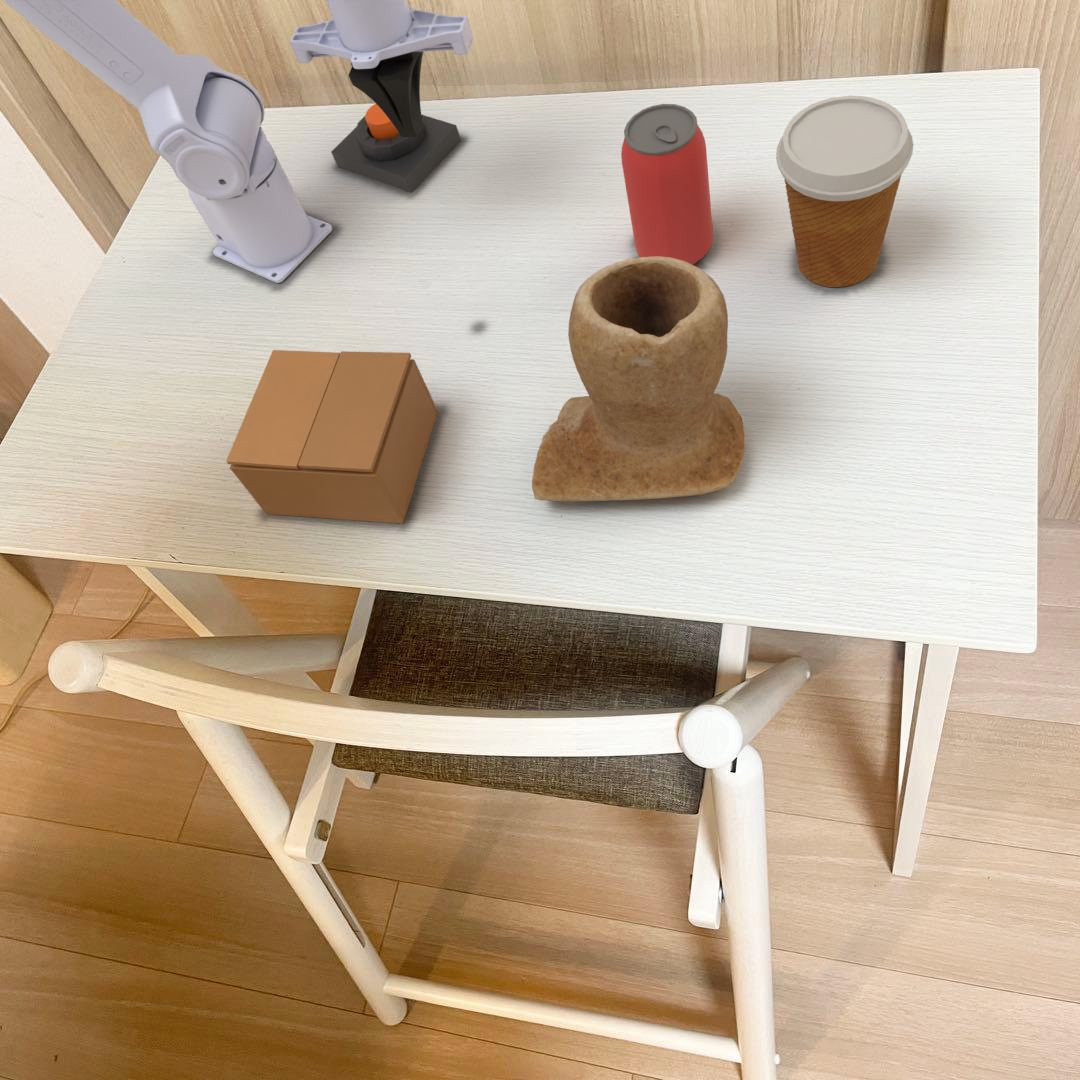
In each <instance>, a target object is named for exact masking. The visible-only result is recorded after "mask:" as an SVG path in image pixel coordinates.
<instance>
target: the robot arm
mask: <svg viewBox="0 0 1080 1080" xmlns="http://www.w3.org/2000/svg"><path fill="white" fill-rule="evenodd" d="M1 1H2V2H3V3H5V5H7V6H8V7H10V9H12V10H13V11H15V12H16V13H17V14H18V15H20V16H21V17H22V18H23V19H25V21H27V22H28V23H30V24H31V25H32V26H33V27H34V28H36V29H37V30H39V31H40V32H41V33H42V34H43V35H44V36H46V37H47V38H48V39H50V40H51V41H52V42H53V43H54V44H56V45H57V46H59V47H60V48H61V49H63V50H64V51H65V52H66V53H67V54H69V56H70V57H72V58H73V59H75V60H76V61H77V62H78V63H80V64H81V65H82V66H84V67H85V68H86V69H87V70H89V71H90V72H91V73H92V74H94V75H95V76H96V77H97V78H99V80H101V81H102V82H103V83H105V84H106V85H107V86H108V87H109V88H111V89H112V90H113V91H115V92H116V93H117V94H118V95H119V96H121V97H122V98H123V99H125V100H126V101H127V102H128V103H129V104H131V105H132V106H134V107H135V108H136V109H137V110H138V112H139V115H140V118H141V120H142V124H143V126H144V127H143V128H144V129H145V133H146V136H147V139H148V143H149V145H150V147H151V149H152V151H154V152H155V154H158V155H159V156H160V157H161V158H162V159H164V160H165V162H166V163H168V165H169V166H170V167H171V169H172V171H173V172H174V174H175V176H176V178H177V179H178V181H180V183H182V184H183V185H184V187H186V188H187V190H188V196H189V198H190V200H191V203H192V204H193V206H194V207H195V208H196V211H197V212H198V214H199V215H200V217H201V219H202V220H203V221H204V222H203V223H204V224H205V225H206V227H207V228H208V230H209V231H210V233H211V235H212V236H213V238H214V240H215V242H216V243H217V244H218V245H217V246H216V247H215V248H214V249H213V250H212V253H213V255H214V257H216V258H218V259H221V260H223V261H225V262H228V263H230V264H232V265H234V266H237V267H240V268H241V269H244V270H246V271H248V272H249V273H252V274H254V275H257V276H259V277H261V278H264V279H266V280H268V281H271V282H273V283H276V284H280V283H282V282H284V281H285V280H286V279H287V278H288V277H289V276H290V275H291V274H292V273H293V271H295V270H296V268H297V267H298V266H299V265H300V264H301V263H302V262H303V261H304V260H306V258H307V257H308V256H309V255H310V254H311V253H312V252H313V251H314V250H315V249H316V248H317V247H318V246H319V245H320V244H321V243H322V242H323V241H324V240H325V239H326V238H327V237H328V236H329V234H330V233H332V231H333V230H334V229H333V227H332V224H331V223H328V222H326V221H323V220H321V219H318V218H316V217H313V216H310V215H308V214H307V213H306V212H305V210H304V208H303V206H302V204H301V202H300V200H299V198H298V196H297V193H296V191H295V190H294V188H293V186H292V184H291V182H290V180H289V178H288V176H287V173H286V172H285V170H284V168H283V166H282V164H281V162H280V160H279V158H278V156H277V154H276V152H275V150H274V148H273V146H272V145H271V143H270V141H269V140H268V139H267V135H266V133H265V132H264V130H263V128H262V124H263V122H264V119H265V115H266V114H265V113H266V110H265V105H264V101H263V98H262V96H261V94H260V93H259V91H258V90H257V89H256V88H255V86H253V84H252V83H250V82H249V81H248V80H246V79H245V78H243V77H242V76H240V75H238V74H236V73H235V74H234V73H233V72H230V71H227V70H224V69H223V68H221V67H219V66H218V65H216V63H214V62H213V61H211V60H210V59H209V58H208V57H207V56H205V55H204V54H180V53H179V54H178V53H177V52H175V50H173V49H172V48H171V47H170V46H169V45H168V44H166V42H164V41H163V40H162V39H161V38H160V37H158V36H157V35H156V34H155V33H154V32H153V31H151V30H150V29H149V28H148V27H147V26H146V25H144V23H142V22H141V21H140V20H139V19H138V18H137V17H135V16H134V15H133V14H132V13H131V12H130V11H129V10H127V8H125V7H124V6H123V5H121V4H120V3H119V2H118V1H117V0H1ZM325 2H326V4H327V7H328V10H329V12H330V15H331V17H332V18H331V19H329V20H325V21H322V22H321V21H320V22H319V23H314V24H308V25H301V26H297V27H296V28H295V31H294V32H293V35H292V36H291V38H290V39H289V45H290V47H291V49H292V51H293V54H294V55H295V58H296V60H297V63H298V64H308V63H311V62H312V60H313V58H326V57H327V58H328V57H329V58H330V57H331V58H332V57H337V58H340V59H344V60H349V61H350V65H351V68H350V70H349V72H348V78H349V80H350V83H351V84H352V86H354V87H355V88H356V89H358V90H359V91H361V92H362V93H363V94H365V95H366V96H367V97H368V98H370V100H371V101H373V102H374V104H377V105H378V106H379V107H380V108H381V109H382V111H383V112H384V113H385V114H386V115H387V117H388V118H389V119H390V121H391V122H392V123H393V125H394V126H395V128H396V129H397V131H398V132H399V133H400V135H401V136H402V138H404V137H417V135H418V133H419V130H420V128H421V125H422V123H423V122H422V115H423V114H422V109H421V108H422V107H421V94H420V93H421V90H420V89H421V87H420V86H421V85H420V84H421V72H422V71H421V70H422V68H421V67H422V62H423V55H424V53H425V52H440V51H442V52H443V51H453V52H454V55H456V56H463V55H465V56H466V55H468V54H469V51H470V49H471V46H472V45H473V41H474V36H473V32H472V29H471V25H470V22H469V18H468V16H467V15H448V14H441V13H435V12H431V11H426V10H421V9H415V8H411V7H409V5H408V2H407V0H325ZM421 114H422V115H421Z"/></svg>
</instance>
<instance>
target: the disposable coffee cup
mask: <svg viewBox="0 0 1080 1080" xmlns="http://www.w3.org/2000/svg"><path fill="white" fill-rule="evenodd" d="M913 152H914V140H913V136H912V134H911V132H910V130H909V128H908V124H907V121H906V119H905V117H904V115H903V113H901V112H900V111H899V110H898V109H897V108H896V107H894V106H893V105H891V104H890V103H888V102H886V101H883V100H882V99H878V98H874V97H870V96H865V95H842V96H834V97H829V98H826V99H822V100H819V101H817V102H814V103H812V104H810V105H808V106H807V107H804V108H803V109H801V110H800V111H799V112H797V113H796V114H795V115H794V116H793V117H792V118H791V119H790V120H789V122H788V124H787V125H786V127H785V128H784V132H783V135H782V136H781V137H780V139H779V142H778V143H777V147H776V153H775V154H776V155H775V161H776V165H777V168H778V170H779V172H780V174H781V176H782V177H783V178H784V179H783V180H784V184H785V190H786V196H787V203H788V209H789V215H790V221H791V228H792V233H793V234H792V235H793V241H794V247H795V253H796V260H797V266H798V268H799V271H800V273H801V274H802V275H803V276H804V277H805V278H806V279H807V280H808V281H810V282H811V283H814V284H816V285H819V286H823V287H827V288H843V287H849V286H852V285H853V286H854V285H856V284H858V283H861V282H862V281H864V280H866V279H867V278H868V277H870V275H872V274H873V272H874V271H876V268H877V266H878V263H879V259H880V255H881V251H882V248H883V244H884V240H885V237H886V234H887V229H888V226H889V223H890V218H891V215H892V212H893V207H894V204H895V200H896V197H897V194H898V189H899V185H900V182H901V178H902V174H903V173H904V171H905V170H906V168H907V167H908V166H909V163H910V161H911V159H912V157H913Z"/></svg>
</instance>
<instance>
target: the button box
mask: <svg viewBox="0 0 1080 1080" xmlns="http://www.w3.org/2000/svg"><path fill="white" fill-rule="evenodd" d="M421 115H422V122H423V123H422V125H421V128H420V130H419V133H418V135H417V137H404V138H402V136H401V135H400V134H398V135H396V136H394V137H392V138H387V139H376V138H374V137H373V136H372V134H371V132H370V129H369V127H368V124H367V122H366V119H365V115H364V116H363V117H362V118H361V119H360V120H359V121H358V122H357V125H356V127H355V128H354V129H353V130H352V131H351V132H349V133H348V135H346V136H345V137H344V138H343V139H342V140H341V141H340V142H339V144H337V145H336V146H335V147H334V148H333V149H332V150H331V151H330V153H331V155H332V157H333V160H334V162H335V164H336V166H337V168H339V169H342V170H344V171H345V170H346V171H348V172H351V173H354V174H356V175H359V176H362V177H365V178H368V179H371V180H374V181H376V182H380V183H382V184H385V185H387V186H391V187H393V188H396V189H399V190H402V191H404V192H407V193H411V194H412V193H413V192H414V191H416V189H417V188H418V187H419V186H420V185H421V184H422V182H423V181H425V180H426V178H428V177H429V175H430V174H431V173H432V172H433V171H434V170H435V169H436V168H438V166H439V165H440V164H441V163H442V162H443V161H444V159H445V158H447V156H449V154H451V152H452V151H453V150H455V148H456V147H457V146H459V144H460V143H461V142H462V138H461V136H460V135H461V134H460V132H459V130H458V126H457V124H454V123H451V122H447V121H444V120H441V119H437V118H434V117H431V116H429V115H424V114H422V113H421Z"/></svg>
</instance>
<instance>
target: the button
mask: <svg viewBox="0 0 1080 1080" xmlns="http://www.w3.org/2000/svg"><path fill="white" fill-rule="evenodd" d="M364 116H365V119H366V122H367V124H368V127H369V129H370V132H371V134H372V136H373V137H374V138H376V139H387V138H392V137H394V136H396V135H398V134H400V133H399V132H398V131H397V129H396V128H395V126H394V125H393V123H392V122H391V121H390V119H389V118H388V117H387V115H386V114H385V113H384V112H383V111H382V109H381V108H380V107H379V106H378V105H377V104H376V103H374V104H373V105H371V106H370V107H369V108H368V109H367V110H366V112H365V115H364Z"/></svg>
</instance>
